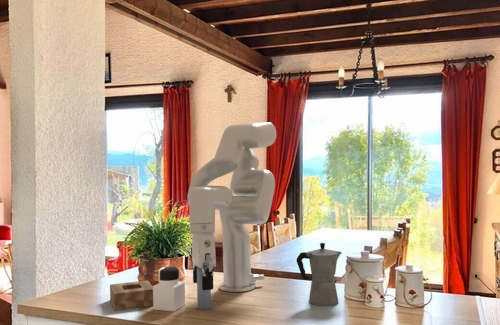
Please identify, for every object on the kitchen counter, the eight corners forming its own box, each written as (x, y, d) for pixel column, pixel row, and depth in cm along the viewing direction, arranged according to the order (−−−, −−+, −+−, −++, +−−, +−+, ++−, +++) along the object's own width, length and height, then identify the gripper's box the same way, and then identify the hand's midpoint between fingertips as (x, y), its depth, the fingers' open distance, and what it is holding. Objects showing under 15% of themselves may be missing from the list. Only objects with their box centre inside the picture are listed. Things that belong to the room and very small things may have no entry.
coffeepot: (334, 295, 153) (333, 239, 153) (350, 303, 144) (349, 243, 145) (291, 300, 148) (289, 242, 148) (304, 309, 139) (303, 247, 139)
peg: (208, 305, 145) (207, 265, 145) (212, 308, 142) (211, 268, 142) (196, 306, 144) (195, 267, 144) (199, 310, 140) (198, 269, 140)
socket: (147, 295, 157) (147, 280, 157) (155, 305, 146) (154, 289, 146) (110, 300, 153) (109, 284, 153) (114, 310, 142) (114, 293, 142)
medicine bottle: (185, 304, 146) (184, 265, 146) (174, 312, 139) (173, 270, 139) (164, 303, 148) (164, 264, 148) (152, 310, 142) (152, 269, 142)
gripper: (223, 230, 136) (224, 291, 136) (206, 225, 152) (206, 279, 152) (198, 232, 133) (198, 294, 133) (182, 226, 149) (183, 281, 149)
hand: (202, 286), depth 142 cm, fingers open, 9 cm apart
